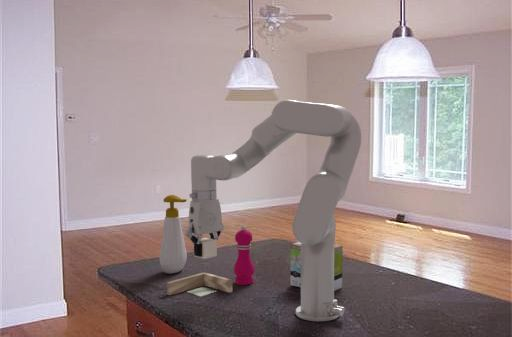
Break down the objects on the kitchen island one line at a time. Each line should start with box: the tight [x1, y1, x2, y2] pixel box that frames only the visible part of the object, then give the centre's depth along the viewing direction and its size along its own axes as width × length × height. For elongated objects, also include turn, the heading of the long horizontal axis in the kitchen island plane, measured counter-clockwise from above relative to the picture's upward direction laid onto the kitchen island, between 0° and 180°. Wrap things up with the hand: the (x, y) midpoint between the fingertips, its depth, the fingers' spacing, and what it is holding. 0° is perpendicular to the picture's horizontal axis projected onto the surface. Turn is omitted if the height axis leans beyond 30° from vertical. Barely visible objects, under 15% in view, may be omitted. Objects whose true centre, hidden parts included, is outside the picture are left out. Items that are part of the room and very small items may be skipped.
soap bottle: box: [159, 194, 188, 275], centre depth 201 cm, size 13×10×29 cm
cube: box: [193, 237, 218, 260], centre depth 166 cm, size 5×5×5 cm
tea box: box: [289, 241, 343, 292], centre depth 181 cm, size 15×10×15 cm, turn 47°
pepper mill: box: [233, 225, 255, 286], centre depth 187 cm, size 7×7×20 cm
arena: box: [166, 272, 233, 298], centre depth 176 cm, size 14×16×4 cm
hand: (205, 253), depth 166 cm, fingers closed on cube, 5 cm apart
